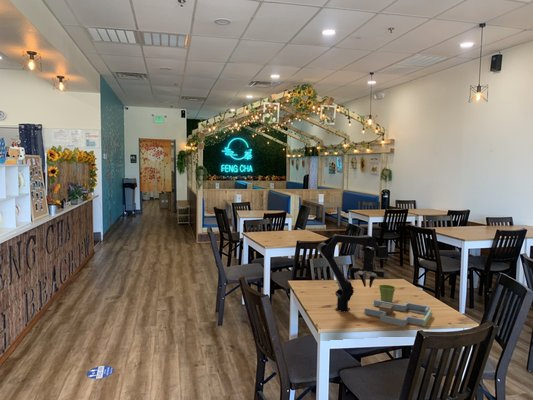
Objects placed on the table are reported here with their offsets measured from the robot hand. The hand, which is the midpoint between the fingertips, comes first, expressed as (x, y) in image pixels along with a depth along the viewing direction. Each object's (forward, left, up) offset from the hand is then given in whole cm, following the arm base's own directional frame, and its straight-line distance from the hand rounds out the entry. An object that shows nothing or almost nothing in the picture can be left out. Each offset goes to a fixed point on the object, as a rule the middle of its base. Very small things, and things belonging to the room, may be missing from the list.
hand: (367, 287), depth 214 cm
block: (0, -10, -12) cm, 16 cm away
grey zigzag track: (0, -16, -12) cm, 20 cm away
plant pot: (+19, -5, -12) cm, 23 cm away
